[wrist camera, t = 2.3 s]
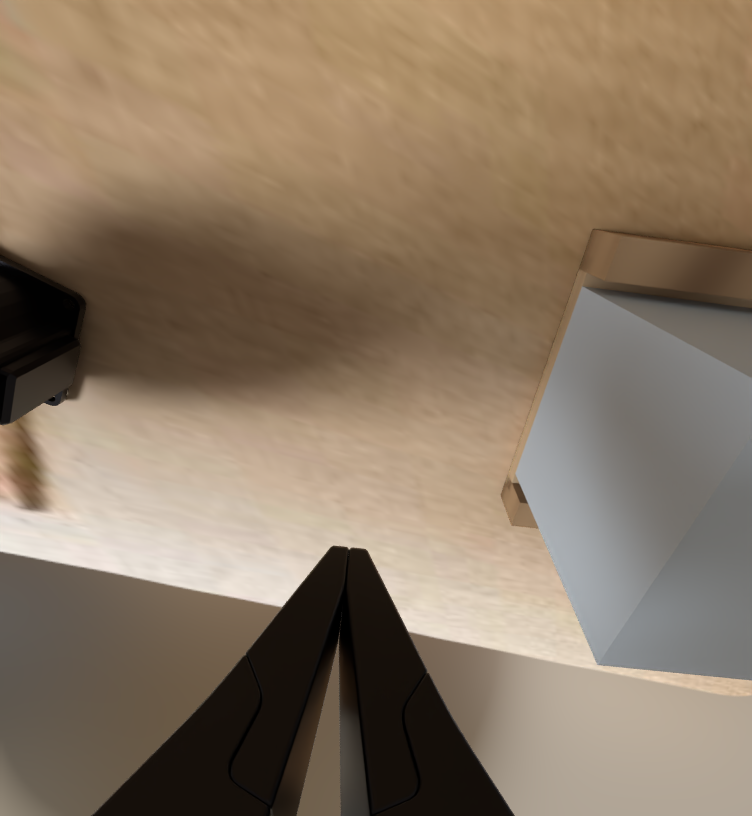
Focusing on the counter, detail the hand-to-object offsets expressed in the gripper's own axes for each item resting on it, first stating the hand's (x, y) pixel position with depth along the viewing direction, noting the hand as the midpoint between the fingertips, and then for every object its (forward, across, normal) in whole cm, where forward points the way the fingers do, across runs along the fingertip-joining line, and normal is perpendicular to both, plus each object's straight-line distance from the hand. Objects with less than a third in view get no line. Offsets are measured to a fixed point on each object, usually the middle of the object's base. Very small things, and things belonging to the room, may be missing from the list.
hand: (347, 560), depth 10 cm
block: (+11, +13, 0) cm, 17 cm away
